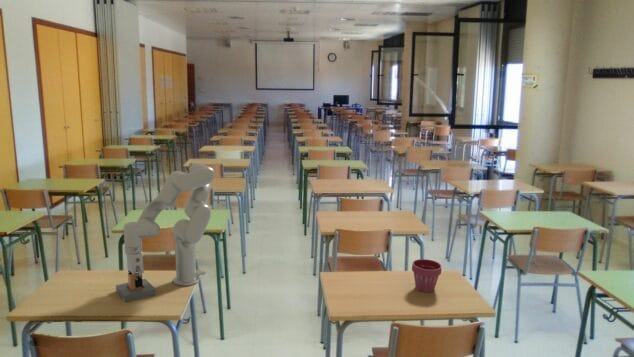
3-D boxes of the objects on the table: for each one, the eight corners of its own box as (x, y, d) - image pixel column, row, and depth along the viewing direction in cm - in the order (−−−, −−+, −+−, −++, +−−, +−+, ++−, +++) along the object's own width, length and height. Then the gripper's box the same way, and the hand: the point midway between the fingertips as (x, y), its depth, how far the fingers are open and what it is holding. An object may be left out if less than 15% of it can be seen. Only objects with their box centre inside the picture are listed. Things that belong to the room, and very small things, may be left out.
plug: (139, 290, 244) (138, 272, 242) (142, 293, 241) (141, 275, 239) (128, 292, 241) (127, 274, 239) (131, 295, 238) (130, 277, 236)
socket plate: (145, 284, 250) (145, 278, 250) (155, 294, 239) (155, 288, 239) (116, 291, 242) (115, 285, 241) (125, 302, 231) (124, 295, 230)
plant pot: (445, 291, 251) (447, 267, 248) (422, 296, 245) (424, 271, 242) (427, 280, 263) (429, 257, 261) (405, 285, 257) (406, 261, 255)
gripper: (148, 252, 232) (149, 287, 235) (135, 242, 245) (137, 275, 249) (131, 256, 227) (133, 291, 231) (119, 245, 241) (121, 279, 244)
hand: (135, 283), depth 240 cm, fingers open, 9 cm apart
